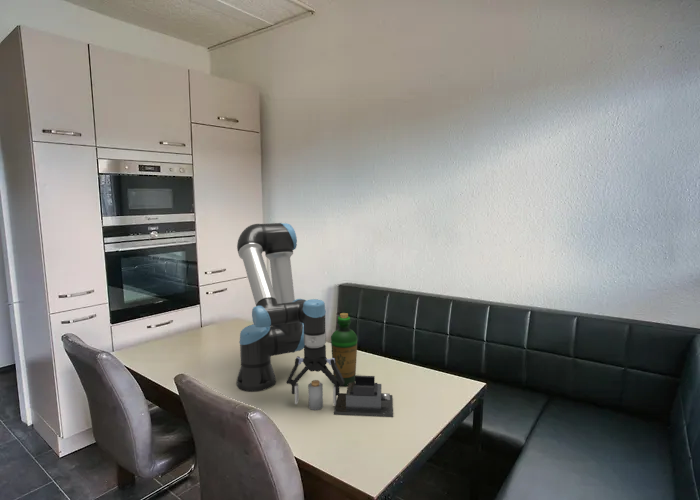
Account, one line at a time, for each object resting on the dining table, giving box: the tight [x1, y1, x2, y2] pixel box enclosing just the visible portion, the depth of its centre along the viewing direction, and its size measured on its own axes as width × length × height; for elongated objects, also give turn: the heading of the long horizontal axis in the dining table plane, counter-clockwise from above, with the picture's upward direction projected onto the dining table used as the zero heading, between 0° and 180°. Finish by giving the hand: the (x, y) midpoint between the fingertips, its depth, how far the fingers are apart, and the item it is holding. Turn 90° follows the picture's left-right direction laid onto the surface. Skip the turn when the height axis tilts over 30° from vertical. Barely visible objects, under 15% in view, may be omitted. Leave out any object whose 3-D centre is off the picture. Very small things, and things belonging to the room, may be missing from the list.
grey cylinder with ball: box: [307, 379, 324, 411], centre depth 144 cm, size 5×5×9 cm
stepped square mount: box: [333, 374, 394, 418], centre depth 144 cm, size 20×14×9 cm
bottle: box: [330, 312, 359, 387], centre depth 163 cm, size 11×11×28 cm
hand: (315, 403), depth 144 cm, fingers open, 13 cm apart
